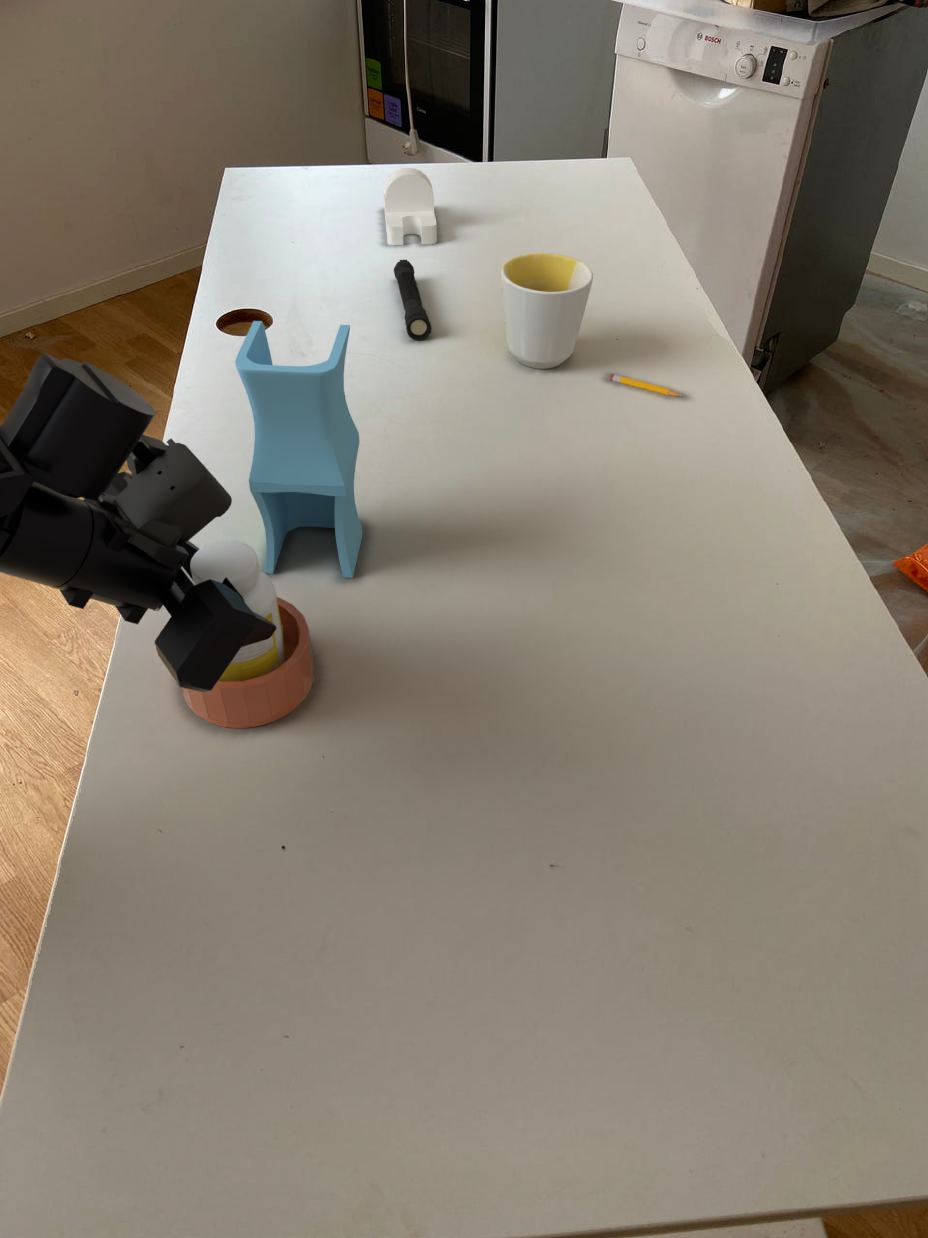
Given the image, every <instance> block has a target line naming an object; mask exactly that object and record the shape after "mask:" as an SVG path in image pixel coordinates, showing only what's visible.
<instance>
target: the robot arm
mask: <svg viewBox="0 0 928 1238" xmlns="http://www.w3.org/2000/svg"><path fill="white" fill-rule="evenodd" d="M155 416H156V410H155V408H154V407H153V406H152V405H151V404H150V402H148V401H147V400H146V399H145V398H144V397H143V396H141V395H140V394H139V393H137V392H136V391H135V390H134V389H132V388H131V387H130V386H128V385H127V384H126V383H124V382H122V381H121V380H120V379H118V378H116V377H115V376H113V375H111V374H110V373H109V372H107V371H105V370H103V369H101V368H99V367H98V366H96V365H94V364H92V363H90V362H88V361H85V360H84V361H83V362H80V361H77V360H75V359H70V358H65V357H63V358H62V359H59V358H57V357H55V356H53V355H51V354H49V353H47V352H43V353H41V354H39V356H38V357H37V360H36V361H35V363H34V364H33V366H32V367H31V369H30V371H29V374H28V378H27V381H26V384H25V386H24V388H23V389H22V391H21V393H20V394H19V396H18V397H17V399H16V400H15V403H14V404H13V406H12V407H11V409H10V410H9V412H8V414H7V416H6V417H5V419H4V421H3V423H2V424H1V425H0V573H1V574H5V575H8V576H12V577H15V578H18V579H22V580H26V581H29V582H32V583H34V584H39V585H43V586H45V587H49V588H53V589H56V590H59V592H60V593H61V595H62V596H63V599H64V601H66V603H67V605H68V606H70V607H74V608H78V609H80V610H84V609H85V607H86V606H87V605H88V604H89V601H90V600H94V601H97V602H100V603H104V604H107V605H110V606H114V607H115V608H116V610H117V612H118V613H119V614H120V616H121V617H122V619H123V620H124V622H128V623H131V624H135V625H139V623H140V622H141V620H142V619H143V617H144V616H145V614H146V613H147V612H148V610H152V611H154V612H160V610H161V609H162V608H163V607H164V608H165V610H166V611H167V613H168V614H169V615H170V618H168V620H167V622H166V623H165V625H163V628H162V629H161V631H160V632H159V634H158V635H157V637H156V638H155V640H154V645H155V648H156V653H157V655H158V657H159V659H160V660H161V661H162V663H163V664H164V666H165V667H166V669H167V671H168V672H169V673H170V674H171V677H172V678H173V679H174V681H175V682H176V684H177V686H178V687H179V688H181V687H182V688H186V689H191V690H195V691H200V692H207V691H211V690H212V689H213V687H214V686H215V684H216V683H217V682H218V680H219V679H220V677H221V676H222V674H223V673H224V671H225V670H226V669H227V667H228V666H229V664H230V663H231V661H232V660H233V659H234V657H235V656H236V654H237V653H238V651H239V650H240V648H241V647H244V646H247V645H250V644H253V643H257V642H260V641H263V640H267V639H269V638H270V637H271V636H272V635H273V633H274V632H275V630H276V628H277V627H276V626H275V625H274V624H273V623H272V622H270V621H268V620H267V619H265V618H264V617H262V616H260V615H258V614H256V613H255V612H253V611H251V609H250V608H249V607H248V606H247V604H246V603H245V601H244V599H243V597H242V596H241V594H240V593H239V592H238V591H237V590H236V588H235V587H234V586H233V585H232V583H231V582H230V581H229V580H228V578H227V577H226V578H225V579H224V580H223V582H222V583H220V582H217V581H214V580H212V579H209V580H207V581H204V582H201V583H199V584H197V585H196V583H195V582H194V581H193V578H192V573H191V569H190V563H191V559H192V557H193V556H194V554H195V553H196V552H197V551H198V550H199V549H200V548H199V546H197V545H195V544H194V543H193V542H191V541H190V540H191V539H192V538H194V537H195V536H196V535H197V534H198V533H199V532H200V531H202V530H203V529H205V527H207V526H208V525H209V524H210V523H211V522H213V521H214V520H215V519H217V518H220V517H222V516H223V515H225V513H227V512H228V510H229V509H230V508H231V506H232V503H233V499H232V496H231V495H230V493H229V492H228V491H227V490H226V489H225V487H223V485H222V484H221V483H220V482H219V480H218V479H217V478H216V477H215V476H214V474H212V473H211V472H210V470H209V469H208V468H207V467H206V466H205V464H203V462H202V461H201V460H200V459H199V458H198V457H197V455H195V454H194V453H193V451H191V449H190V448H189V447H188V446H187V445H185V444H184V443H180V442H176V441H175V440H173V438H169V439H168V440H167V441H166V443H165V442H164V441H162V440H160V439H158V438H155V437H152V436H149V435H145V432H146V430H147V428H149V426H150V424H151V422H152V421H153V420H154V418H155ZM125 463H126V464H127V465H126V466H127V468H128V470H129V472H127V471H125V470H123V471H121V469H122V468H123V466H124V465H125ZM120 471H121V472H120ZM130 472H131V473H130ZM81 498H83V499H81Z"/></svg>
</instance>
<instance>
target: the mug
mask: <svg viewBox="0 0 928 1238" xmlns="http://www.w3.org/2000/svg"><path fill="white" fill-rule="evenodd" d="M500 281H501V282H500V283H501V292H502V293H501V294H502V303H503V311H504V321H505V330H506V341H507V343H506V344H507V347H508V350H509V351H510V354H512V355H513V357H514V358H515V359H516V360H517V361H518V362H519V363H520V364H522V365H523V366H526V367H529V368H532V369H537V370H548V369H552V368H556V367H558V366H560V365H562V364H563V363H564V362H565V361H567V359H568V358H569V357H571V356H572V354H573V353H574V351H575V349H576V345H577V341H578V337H579V333H580V330H581V326H582V321H583V319H584V315H585V311H586V307H587V305H588V301H589V296H590V292H591V289H592V285H593V281H594V273H593V271H592V269H591V268H590V266H589V265H588V264H586V263H585V262H583V261H581V260H579V259H577V258H574V257H571V256H568V255H564V254H559V253H552V252H551V253H550V252H535V253H526V254H522V255H518V256H515V257H513V258H511V259H508V260H507V261H506V262H504V263H503V265H502V266H501V268H500Z"/></svg>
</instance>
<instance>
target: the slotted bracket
mask: <svg viewBox="0 0 928 1238" xmlns="http://www.w3.org/2000/svg"><path fill="white" fill-rule="evenodd" d="M383 205H384V218H385V228H386V229H385V230H386V240H387V245H388V246H404V236H407V235H417V236H419V237H420V243H421V246H422V245H423V246H427V245H428V246H431V245H435V244H437V242H438V241H437V236H438V235H437V228H438V227H437V219H436V214H435V196H434V189H433V186H432V183H431V180H430V179H429V178H428V176H427V175H426V173H424V172H422V170H420V169H417V168H413V167H405V168H400V169H398V170H396V171H394V172H393V173H392V174H391V175H390V176H389V177H388V179H387V181H386V183H385V186H384V193H383Z"/></svg>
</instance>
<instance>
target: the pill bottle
mask: <svg viewBox="0 0 928 1238" xmlns="http://www.w3.org/2000/svg"><path fill="white" fill-rule="evenodd" d="M190 569H191V573H192V578H193V581H194V582H195V583H196V585H197V584H199V583H201V582H204V581H207V580H209V579H212V580H214V581H217V582H220V583H222V582H223V580H224V579H225V578H226V577H227V578H228V580H229V581H230V582H231V583H232V585H233V586H234V587H235V588H236V590H237V591H238V592H239V593H240V594H241V596H242V597H243V599H244V601H245V603H246V604H247V606H248V607H249V608H250V609H251V611H253V612H255V613H256V614H258V615H260V616H262V617H264V618H265V619H267V620H268V621H270V622H272V623H273V624H274V625H275V626H276V627H277V628H276V630H275V632H274V633H273V635H272V636H271V637H270V638H269V639H267V640H263V641H260V642H257V643H253V644H250V645H247V646H244V647H241V648H240V650H239V651H238V653H237V654H236V656H235V657H234V659H233V660H232V661H231V663H230V664H229V666H228V667H227V669H226V670H225V671H224V673H223V674H222V676H221V677H220V679H219V680H218V681H223V682H227V681H245V680H249V679H253V678H257V677H261V676H264V675H266V674H268V673H270V672H272V671H274V670H276V669H277V668H279V667H280V666H281V665H282V664H283V663H285V662H286V655H285V648H284V641H283V634H282V627H281V621H280V614H279V608H278V601H277V597H278V596H277V590H276V587H275V584H274V582H273V581H272V579H271V578H270V576H269V575H267V574H265V571H262V570H261V569H260V564H259V559H258V555H257V552H256V551H255V549H254V548H253V547H252V546H250V545H249V544H247V543H245V542H242V541H239V540H232V539H229V540H228V539H226V540H225V539H224V540H217V541H214V542H211V543H209V544H206V545H204V546H202V547H201V548H199V550H198V551H197V552H196V553H195V554H194V556H193V557H192V559H191V563H190Z"/></svg>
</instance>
